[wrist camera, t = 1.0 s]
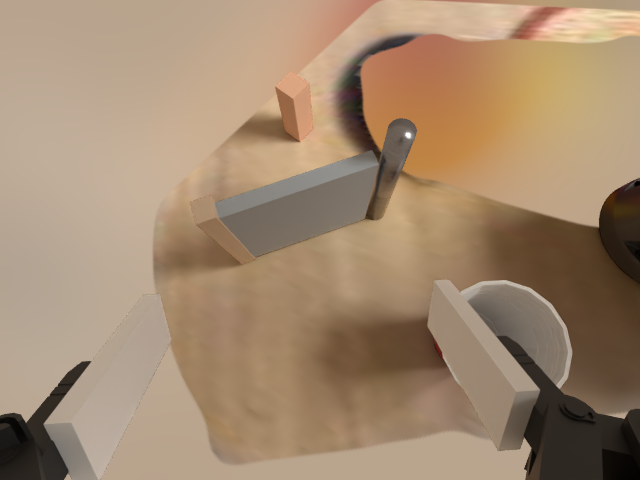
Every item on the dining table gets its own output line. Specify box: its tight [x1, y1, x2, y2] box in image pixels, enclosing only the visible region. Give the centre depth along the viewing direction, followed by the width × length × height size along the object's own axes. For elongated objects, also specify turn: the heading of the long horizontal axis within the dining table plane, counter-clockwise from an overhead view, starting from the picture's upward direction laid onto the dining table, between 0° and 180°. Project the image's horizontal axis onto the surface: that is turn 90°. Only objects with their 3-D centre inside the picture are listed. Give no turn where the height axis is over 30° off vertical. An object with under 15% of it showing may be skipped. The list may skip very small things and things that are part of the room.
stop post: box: [275, 71, 313, 142], centre depth 45 cm, size 3×3×9 cm
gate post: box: [367, 119, 417, 220], centre depth 36 cm, size 2×2×18 cm
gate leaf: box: [190, 150, 379, 264], centre depth 36 cm, size 17×2×15 cm, turn 110°
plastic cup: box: [434, 280, 573, 389], centre depth 34 cm, size 11×11×12 cm
